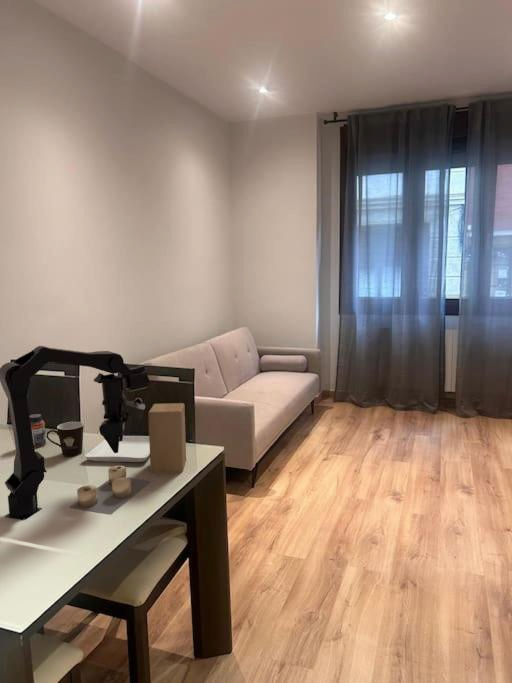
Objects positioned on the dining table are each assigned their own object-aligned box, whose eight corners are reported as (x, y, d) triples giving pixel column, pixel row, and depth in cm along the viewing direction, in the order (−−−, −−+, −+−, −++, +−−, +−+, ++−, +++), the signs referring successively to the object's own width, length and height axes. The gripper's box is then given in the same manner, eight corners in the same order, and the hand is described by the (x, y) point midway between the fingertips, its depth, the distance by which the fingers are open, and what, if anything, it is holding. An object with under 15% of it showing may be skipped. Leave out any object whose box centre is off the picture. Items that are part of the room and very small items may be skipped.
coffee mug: (90, 450, 172) (88, 422, 170) (75, 459, 163) (73, 430, 162) (62, 447, 175) (60, 420, 173) (46, 455, 166) (43, 427, 165)
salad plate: (109, 443, 179) (108, 434, 179) (165, 444, 177) (164, 435, 177) (83, 466, 158) (82, 456, 158) (146, 467, 156) (146, 457, 156)
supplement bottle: (28, 444, 178) (25, 414, 176) (45, 441, 181) (43, 412, 179) (28, 449, 173) (25, 418, 171) (46, 446, 175) (44, 416, 174)
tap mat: (111, 516, 124) (110, 514, 124) (68, 509, 128) (68, 507, 128) (152, 482, 144) (152, 481, 144) (114, 477, 148) (114, 475, 148)
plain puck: (124, 500, 132) (124, 486, 131) (109, 497, 134) (108, 483, 133) (134, 492, 137) (134, 478, 136) (119, 489, 138) (118, 476, 138)
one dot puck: (90, 509, 127) (89, 493, 127) (74, 506, 129) (73, 491, 128) (101, 500, 132) (100, 485, 131) (86, 498, 133) (85, 483, 133)
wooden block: (186, 461, 160) (184, 402, 157) (182, 474, 150) (180, 411, 147) (156, 462, 160) (153, 403, 157) (150, 474, 150) (147, 412, 147)
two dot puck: (120, 486, 140) (119, 472, 140) (105, 484, 142) (104, 470, 141) (129, 479, 145) (129, 466, 145) (115, 477, 147) (114, 464, 146)
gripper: (139, 402, 131) (143, 456, 133) (144, 384, 149) (148, 433, 152) (96, 405, 129) (102, 460, 132) (107, 387, 148) (112, 436, 150)
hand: (118, 446), depth 141 cm, fingers open, 9 cm apart
